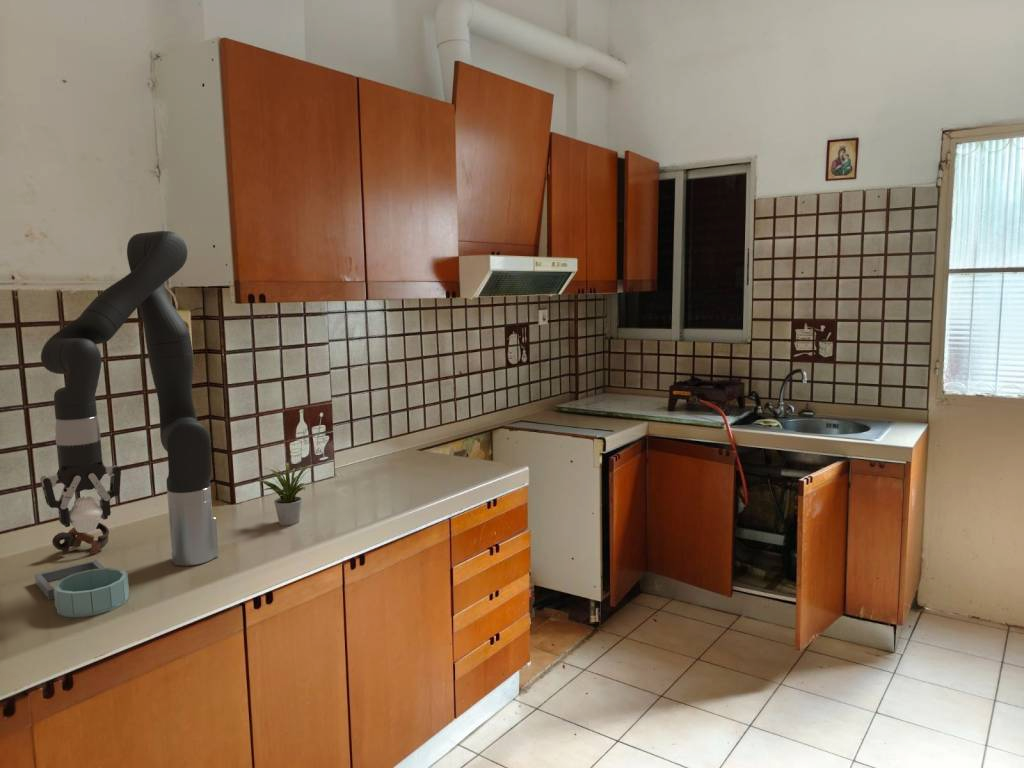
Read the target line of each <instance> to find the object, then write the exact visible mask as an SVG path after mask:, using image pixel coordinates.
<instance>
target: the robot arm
mask: <svg viewBox="0 0 1024 768" xmlns="http://www.w3.org/2000/svg"><path fill="white" fill-rule="evenodd" d="M126 246H127V247H126V256H127V262H128V266H129V270H130V272H129V273H128V274H126V275H125V276H124V277H122V278H121V279H120V280H118V281H116V282H115V283H113V284H112V285H110V286H108V287H107V288H106V289H104V290H103V291H102V292H101V293H99V294H98V295H97V296H96V297H95V298H94V299H93V301H91V303H89V304H88V306H87V307H86V308H85V309H84V310H83V312H81V314H80V315H79V317H77V318H76V319H74V320H73V321H71V322H69V323H68V324H67V325H66V326H64V327H63V328H61V329H60V330H59V331H57V332H56V333H54V334H53V335H52V336H51V337H49V339H48V340H47V341H46V342H45V344H44V345H43V347H42V350H41V353H40V361H41V363H42V366H43V368H44V369H46V370H47V371H48V372H50V373H53V374H56V375H67V381H66V385H65V386H63V387H61V388H58V389H57V390H55V392H54V394H53V404H54V405H53V406H54V416H55V431H54V432H55V437H54V440H55V443H56V454H57V464H58V470H57V472H56V474H54V475H50V476H49V475H48V476H45V475H44V476H41V477H40V484H41V487H42V490H43V491H42V492H43V495H44V499H45V503H46V505H47V506H48V507H50V508H51V509H54V508H55V509H57V510H58V511H57V512H58V518H59V523H60V524H61V525H63V526H64V527H65V528H68V527H71V523H70V518H69V511H70V510H69V507H68V506H69V503H70V501H71V499H72V498H73V497H74V495H75V493H79V492H82V491H91V490H94V491H96V493H97V495H98V496H99V497H100V499H99V506H100V507H101V508H102V510H103V513H102V515H101V516H102V517H101V519H102V520H108V518H109V516H111V514H112V512H111V502H110V501H111V500H112V499H113V498H114V497H118V496H119V495H120V494H121V493H120V492H121V478H122V477H121V476H122V469H121V467H120V466H119V465H116V464H113V465H111V466H105V465H104V462H103V452H102V451H103V450H102V442H101V441H102V440H101V438H102V437H101V428H100V423H99V418H98V411H97V400H96V394H97V393H96V392H97V390H98V389H97V388H98V386H99V385H98V383H99V379H100V374H101V368H102V355H101V352H100V349H99V347H98V346H97V345H100V344H104V343H107V342H108V341H111V339H112V338H113V337H114V336H115V334H116V333H117V332H118V331H119V330H120V328H122V327H123V325H124V324H125V322H126V321H127V320H128V319H129V317H130V316H131V315H132V314H133V313H134V312H135V311H136V310H137V309H138V308H139V309H140V315H141V318H142V319H141V321H142V324H143V330H144V337H145V346H146V350H147V357H148V362H149V367H150V370H151V371H150V372H151V376H152V380H153V385H154V389H155V391H156V395H157V401H158V410H159V411H158V412H159V431H160V432H159V433H160V435H159V437H160V443H161V445H162V447H163V449H164V450H165V451H166V452H167V463H168V464H167V466H168V475H167V477H166V492H167V493H166V495H167V507H168V519H169V531H170V532H169V535H170V543H171V544H170V547H171V558H172V564H174V565H176V566H182V567H184V566H186V567H187V566H188V567H189V566H196V565H200V564H205V563H207V562H210V561H211V560H213V559H215V558H219V546H218V545H219V544H218V532H217V531H218V530H217V529H218V527H217V518H216V517H215V516H213V507H212V506H213V505H212V504H213V503H212V490H211V476H212V472H213V471H212V470H213V467H212V465H213V464H212V442H211V437H210V436H211V435H210V434H209V430H208V429H207V428H206V426H204V425H203V424H201V423H200V422H199V420H198V417H197V413H196V409H195V406H194V400H193V393H192V390H193V389H192V388H193V379H194V369H195V368H194V365H195V364H194V363H195V362H194V361H195V359H194V352H193V351H194V350H193V345H192V339H191V333H190V330H189V328H188V326H187V324H186V323H185V321H184V319H183V318H182V316H181V315H180V313H179V312H178V311H177V309H176V308H175V307H174V305H173V303H172V302H171V299H170V298H169V296H168V293H167V290H166V286H165V282H167V281H168V280H169V279H170V278H172V277H173V276H174V275H175V274H177V273H178V272H179V271H180V270H181V269H182V268H183V267H184V265H185V264H186V262H187V259H188V248H187V244H186V242H185V241H184V239H183V238H182V236H180V234H178V233H176V232H175V231H174V232H173V231H170V230H158V231H157V230H155V231H151V232H150V231H149V232H140V233H135V234H133V235H132V236H131V237H130V239H129V240H128V242H127V245H126ZM106 473H107V476H108V477H109V478H110V480H109V481H110V482H109V490H106V488H105V487H104V486H103V484H102V483H101V481H102V478H103V476H105V474H106ZM57 481H60V483H62V484H63V487H62V490H61V492H60V497H59V499H58V500H56V497H55V492H54V489H53V488H55V486H56V483H57Z"/></svg>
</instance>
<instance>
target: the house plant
mask: <svg viewBox="0 0 1024 768" xmlns="http://www.w3.org/2000/svg"><path fill="white" fill-rule="evenodd" d="M310 466H314V464H313V463H312V464H309V465H306V466H305V467H304V466H303V465H300V466H298V467H297V468H295V467H294V468H293V469H292V473H291V476H290V471H291V469H290V468H291V466H290V463H289V462H287V463H286V465H285V473H284V475H285V476H284V475H283V473H282V472H281V470H279V469H278V468H276V467H274V466H273V468H275V469H276V470H273V469H270V468H266V467H265V468H264V469H266V470H268V471H270V472H271V473H273V474H274V476H275V477H276V478H277V480H278V481H277V480H275V478H274V477H272V476H271V475H269V477H271V478H272V479H273V480H274V481H275V482H276V483H277V484H279V486H280V487H279V486H278V485H277V484H275V483H272V482H270V481H268V480H263V479H258V482H261V483H263V484H264V485H266V487H267V488H264V489H263V490H262V492H264V491H266V490H267V491H269V490H272V491H274V492H275V493H276V494H277V495H278V496H279V498H276V499H275V500H274V502H273V503H274V507H275V510H276V515H277V519H278V523H279V525H281V526H292V525H296V524H298V523H300V518H301V510H302V500H303V498H302V497H300V496H297V494H298V493H299V492H300V491H303V490H304V491H305V489H306V487H303V486H305V485H306V483H303V482H301V483H299V482H300V481H301V479H303V477H304V476H305V475H306V473H308V471H306V470H307V469H308V468H309V467H310ZM301 467H303V468H301ZM299 468H301V470H300V472H299V473H298V475H296V476H295V473H296V471H297V470H298V469H299ZM305 471H306V472H305ZM304 472H305V473H304ZM303 473H304V474H303ZM262 474H264V475H266V476H268V474H267V473H265V472H262ZM302 474H303V475H302ZM290 479H291V480H290ZM262 492H261V493H262Z"/></svg>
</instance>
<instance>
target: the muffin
mask: <svg viewBox="0 0 1024 768" xmlns="http://www.w3.org/2000/svg"><path fill="white" fill-rule="evenodd" d="M102 513H103V510H102V508H101V507H100V505H98V504H97V502H95V499H94V498H93V497H92V496H85V495H83V496H81V497H78V498H76V499H75V500H74V501H73V506H72V507H71V508H70V510H69V518H70V525H71V526H72V528H73V527H74V528H75V529H76V531H77V532H80V533H85V532H86V533H89V532H90V533H91V532H93V531H95V530H97V529H96V527H97V525H98V523H100V521H101V519H102V518H101V517H102V516H101V515H102Z"/></svg>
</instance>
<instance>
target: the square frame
mask: <svg viewBox="0 0 1024 768" xmlns="http://www.w3.org/2000/svg"><path fill="white" fill-rule="evenodd" d="M101 568H105V566H104V565H102V564H101V563H100V562H99V561H98V560H97V559H95V560H89V561H85V562H82V563H78V564H73V565H69V566H68V565H67V566H64V567H60V568H57V569H56V568H55V569H53V570H52V569H51V570H48V571H43V572H38V573H35V574H34V580H35V581H34V582H35V584H36V586H37V587H38V588H39V589H40V590H41V592H42V593H43V594H44V596H45V597H46V598H47V600H48V601H50V600H53V599H54V600H55V598H54V588H53V587H52V585H51V584H50V583H49V582H52V581H57V580H61V579H63V578H65V577H67V576H70V575H72V574H74V573H79V572H83V571H87V570H92V569H101Z"/></svg>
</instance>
